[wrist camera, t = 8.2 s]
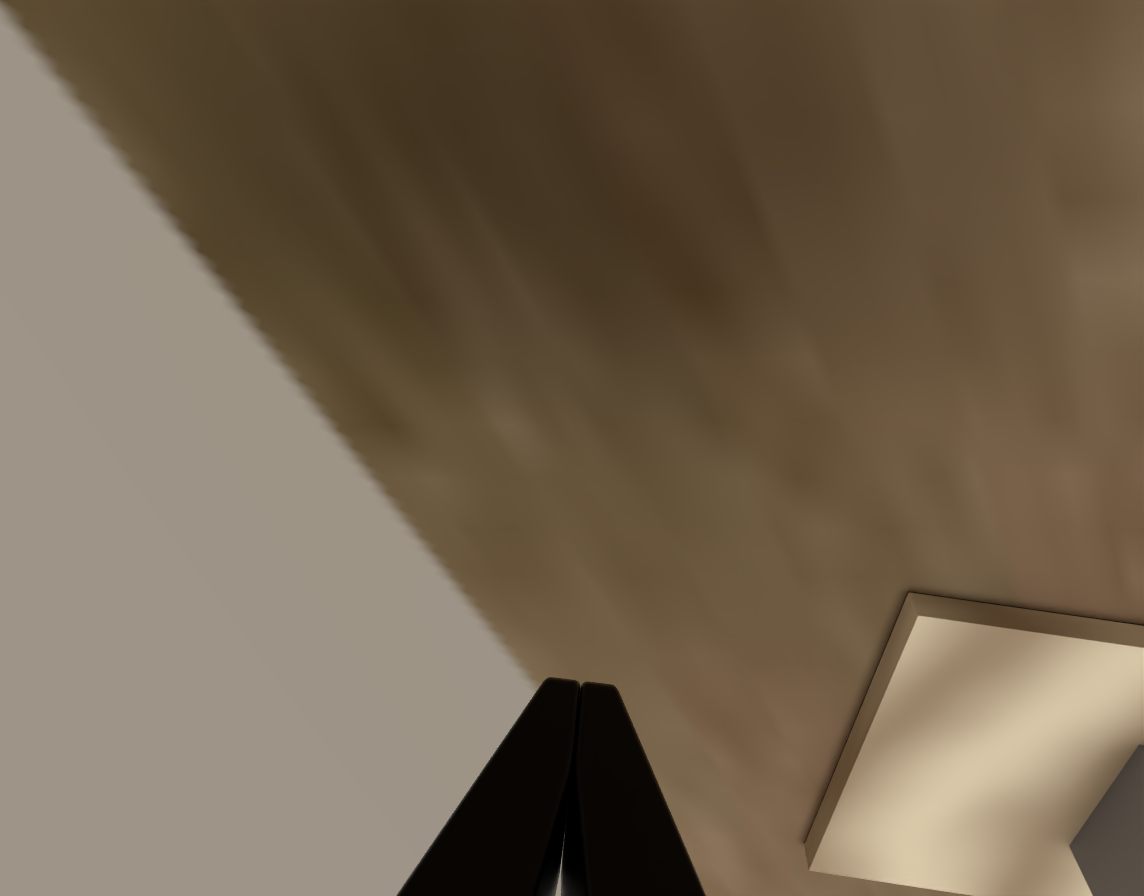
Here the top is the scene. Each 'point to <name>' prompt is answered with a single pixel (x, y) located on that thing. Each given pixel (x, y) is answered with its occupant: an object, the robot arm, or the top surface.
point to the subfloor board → (982, 750)
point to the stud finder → (1115, 836)
